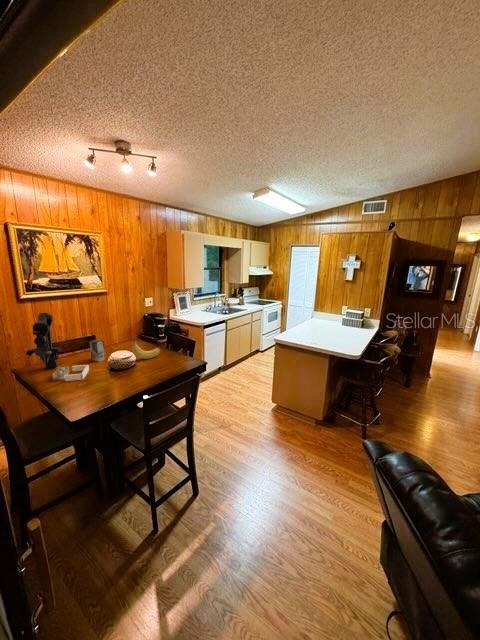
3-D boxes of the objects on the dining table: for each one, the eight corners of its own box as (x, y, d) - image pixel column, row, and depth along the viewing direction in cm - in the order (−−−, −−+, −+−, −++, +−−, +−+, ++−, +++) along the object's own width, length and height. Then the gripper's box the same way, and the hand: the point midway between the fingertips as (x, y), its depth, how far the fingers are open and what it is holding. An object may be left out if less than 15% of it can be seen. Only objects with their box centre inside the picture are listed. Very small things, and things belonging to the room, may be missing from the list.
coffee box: (105, 359, 219) (103, 340, 215) (98, 361, 213) (96, 342, 209) (98, 357, 222) (96, 338, 219) (91, 359, 217) (89, 340, 213)
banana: (158, 354, 232) (157, 332, 227) (161, 356, 227) (160, 334, 223) (132, 360, 218) (130, 336, 214) (134, 362, 214) (132, 338, 209)
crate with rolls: (53, 380, 179) (52, 373, 178) (59, 373, 191) (58, 366, 189) (64, 379, 181) (63, 373, 180) (69, 372, 192) (68, 366, 191)
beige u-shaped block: (65, 381, 179) (64, 375, 178) (73, 371, 195) (72, 365, 194) (83, 379, 182) (82, 374, 181) (89, 369, 198) (88, 364, 197)
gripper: (20, 345, 167) (24, 368, 171) (54, 343, 172) (57, 366, 176) (28, 340, 178) (31, 362, 181) (60, 338, 183) (63, 360, 186)
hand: (45, 362), depth 181 cm, fingers closed
